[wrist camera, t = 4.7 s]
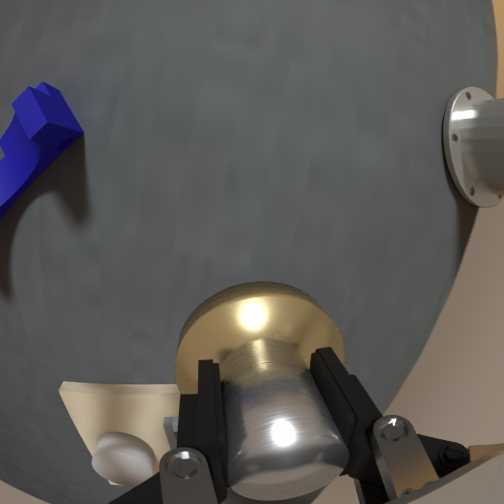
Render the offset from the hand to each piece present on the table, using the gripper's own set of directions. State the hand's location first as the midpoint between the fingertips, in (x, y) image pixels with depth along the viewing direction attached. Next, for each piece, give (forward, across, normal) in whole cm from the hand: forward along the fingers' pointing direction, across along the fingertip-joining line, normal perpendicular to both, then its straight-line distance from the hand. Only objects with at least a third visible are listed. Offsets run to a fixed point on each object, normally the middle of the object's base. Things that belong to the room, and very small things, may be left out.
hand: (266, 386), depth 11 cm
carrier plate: (+12, +6, +17) cm, 22 cm away
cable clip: (+12, +17, -10) cm, 23 cm away
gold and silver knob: (+2, 0, 0) cm, 2 cm away
